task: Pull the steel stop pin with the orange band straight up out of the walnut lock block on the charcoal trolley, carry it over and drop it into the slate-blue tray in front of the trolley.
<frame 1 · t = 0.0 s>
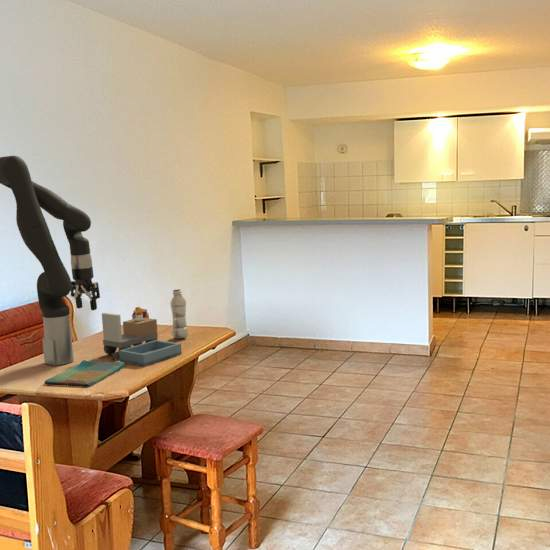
hand: (86, 308, 240), 17 cm above the table, tool pointing down, fingers open, 8 cm apart
plastic bottle: (180, 339, 260), on the table
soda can: (142, 339, 262), on the table
tray: (151, 357, 232), on the table
trolley: (131, 351, 242), on the table
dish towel: (86, 377, 213), on the table
stop pin: (140, 333, 246), point 6 cm above the table, touching trolley
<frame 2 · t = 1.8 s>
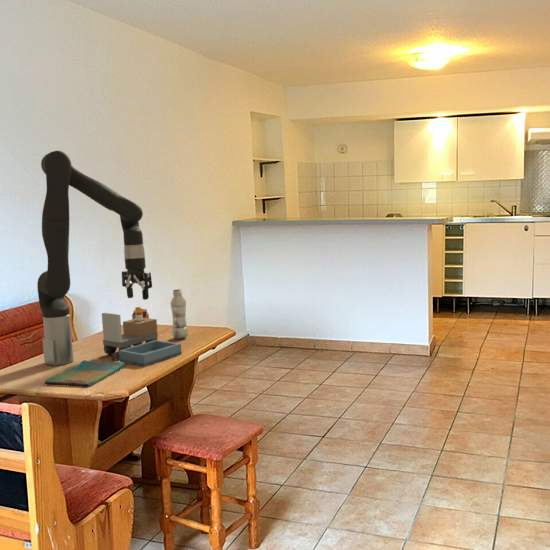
hand: (138, 298, 244), 20 cm above the table, tool pointing down, fingers open, 8 cm apart
nothing on the table moved.
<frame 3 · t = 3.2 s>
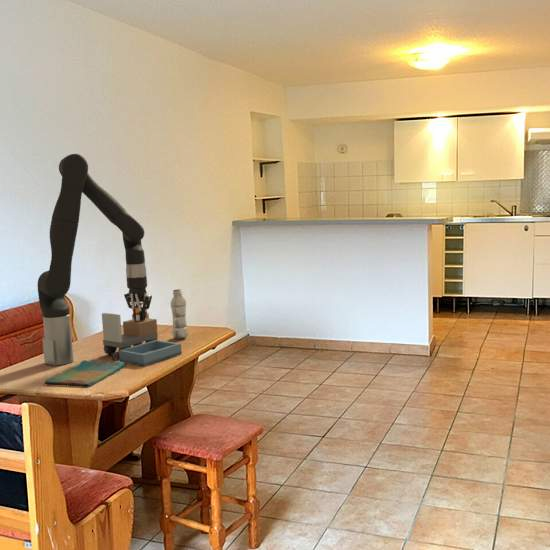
hand: (139, 319, 245), 11 cm above the table, tool pointing down, fingers closed on stop pin, 2 cm apart
stop pin: (140, 333, 246), point 6 cm above the table, touching gripper, trolley
everything else where it was.
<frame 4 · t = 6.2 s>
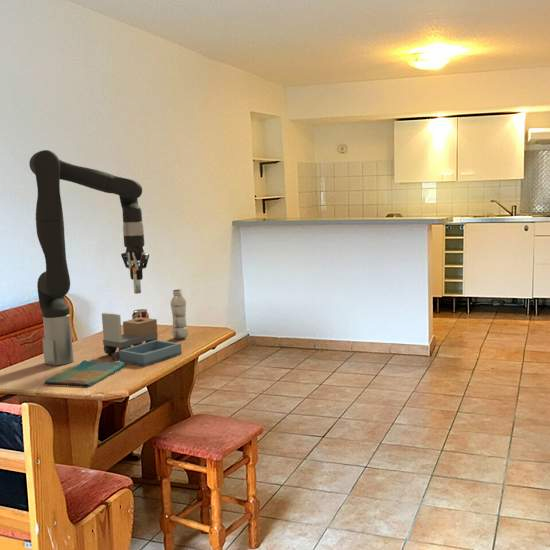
hand: (136, 279, 242), 27 cm above the table, tool pointing down, fingers closed on stop pin, 2 cm apart
stop pin: (137, 293, 243), point 22 cm above the table, touching gripper
everything else where it was.
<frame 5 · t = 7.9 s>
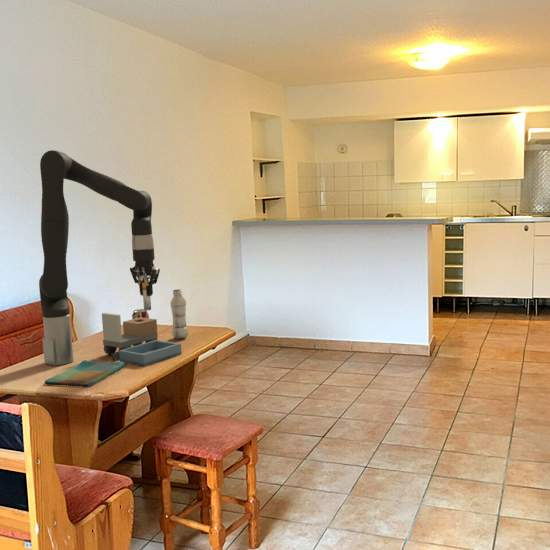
hand: (146, 295, 229), 23 cm above the table, tool pointing down, fingers closed on stop pin, 2 cm apart
stop pin: (147, 309, 229), point 18 cm above the table, touching gripper
everything else where it was.
when the fingers open (10 cm above the table, at t = 9.5 s): stop pin drops 3 cm, resting on tray.
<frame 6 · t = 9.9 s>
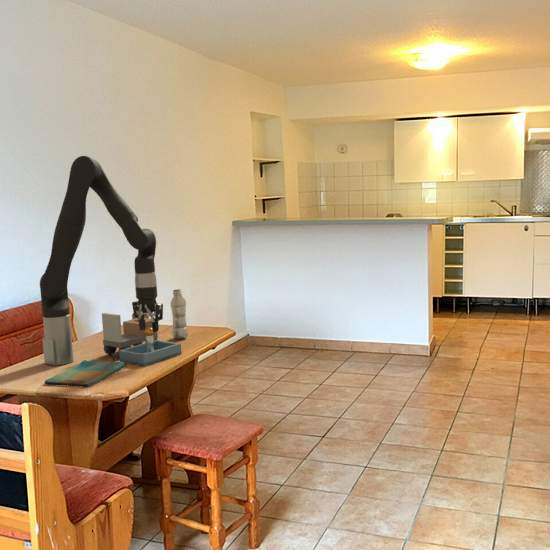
hand: (149, 330, 230), 10 cm above the table, tool pointing down, fingers open, 6 cm apart
stop pin: (150, 355, 232), point 1 cm above the table, touching tray
everything else where it was.
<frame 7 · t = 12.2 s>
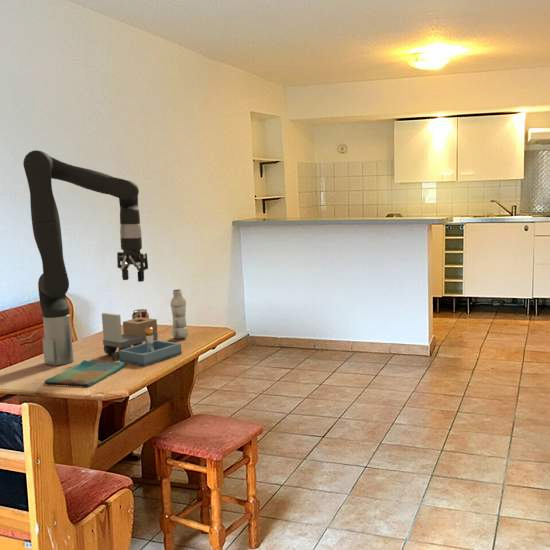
hand: (133, 280, 234), 28 cm above the table, tool pointing down, fingers open, 8 cm apart
nothing on the table moved.
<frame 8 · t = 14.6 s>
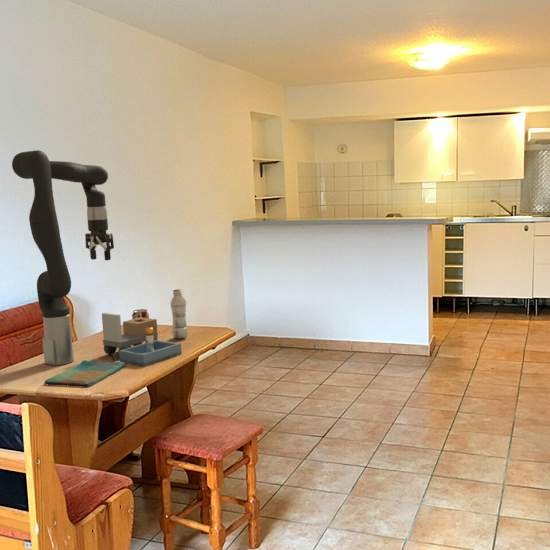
hand: (100, 259, 251), 34 cm above the table, tool pointing down, fingers open, 8 cm apart
nothing on the table moved.
at the end: stop pin inside the target area on the tray (0.1 cm from its centre), point 1.0 cm above the tray's base; the gripper is holding nothing; stop pin moved 16.7 cm from its start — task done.
